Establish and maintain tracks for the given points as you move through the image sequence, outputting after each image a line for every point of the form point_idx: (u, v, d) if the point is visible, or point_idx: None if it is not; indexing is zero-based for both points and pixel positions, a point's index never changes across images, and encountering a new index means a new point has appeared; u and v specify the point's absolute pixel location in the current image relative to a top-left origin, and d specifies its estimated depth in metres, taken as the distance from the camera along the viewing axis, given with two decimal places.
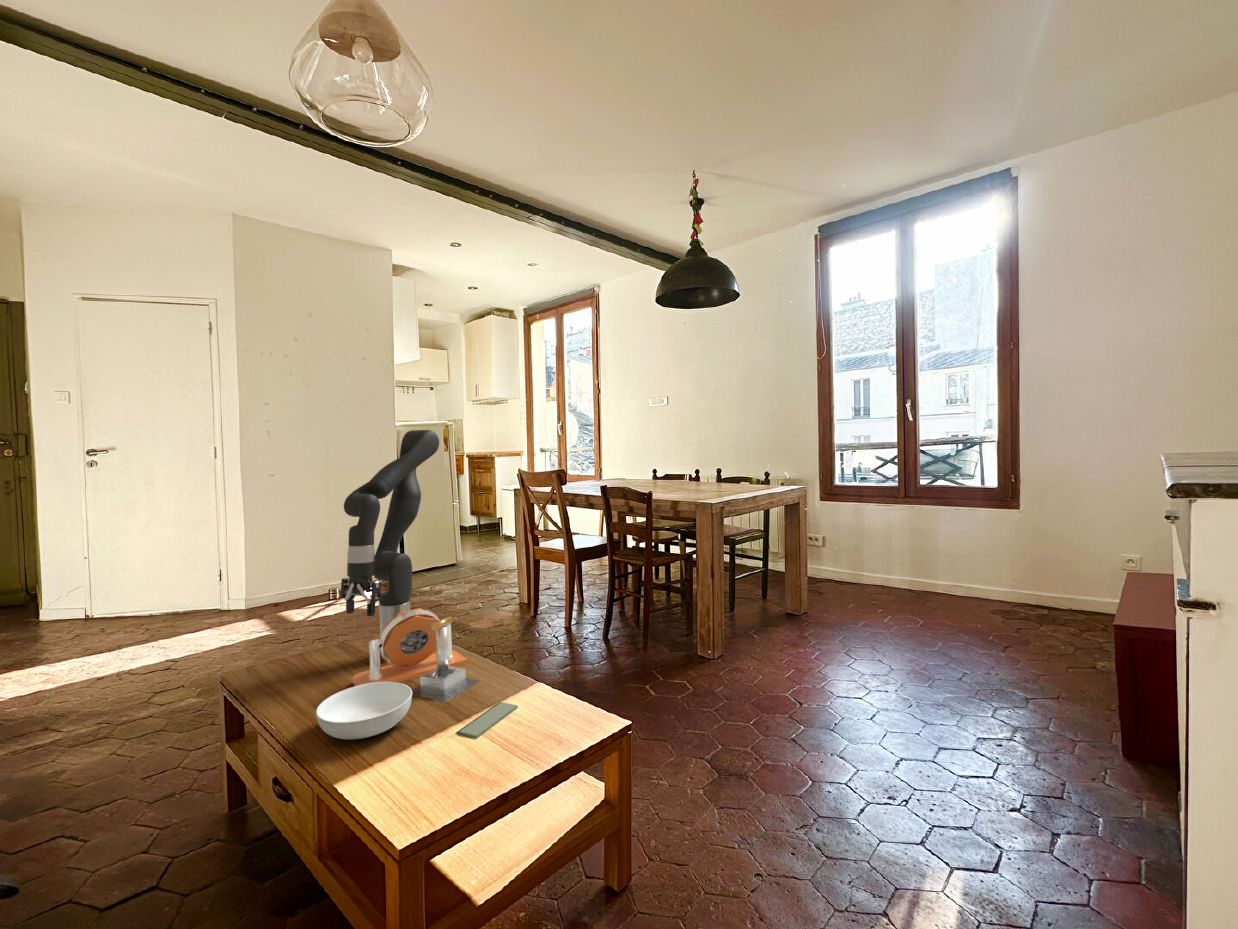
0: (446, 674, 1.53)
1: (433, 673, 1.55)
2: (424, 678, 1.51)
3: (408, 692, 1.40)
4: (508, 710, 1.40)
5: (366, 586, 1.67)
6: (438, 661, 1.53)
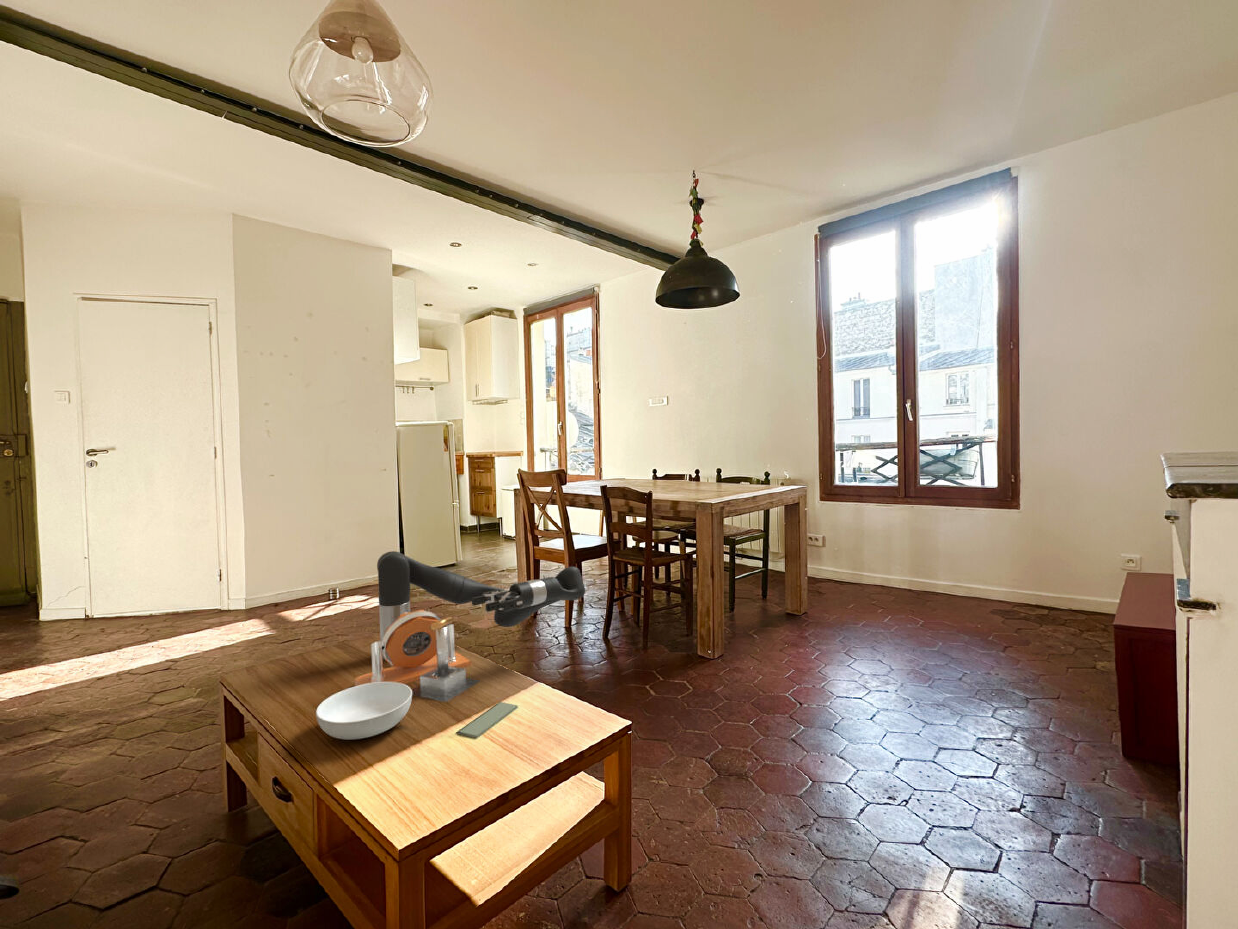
0: (446, 674, 1.53)
1: (433, 673, 1.55)
2: (424, 678, 1.51)
3: (408, 692, 1.40)
4: (508, 710, 1.40)
5: (512, 597, 1.64)
6: (438, 661, 1.53)
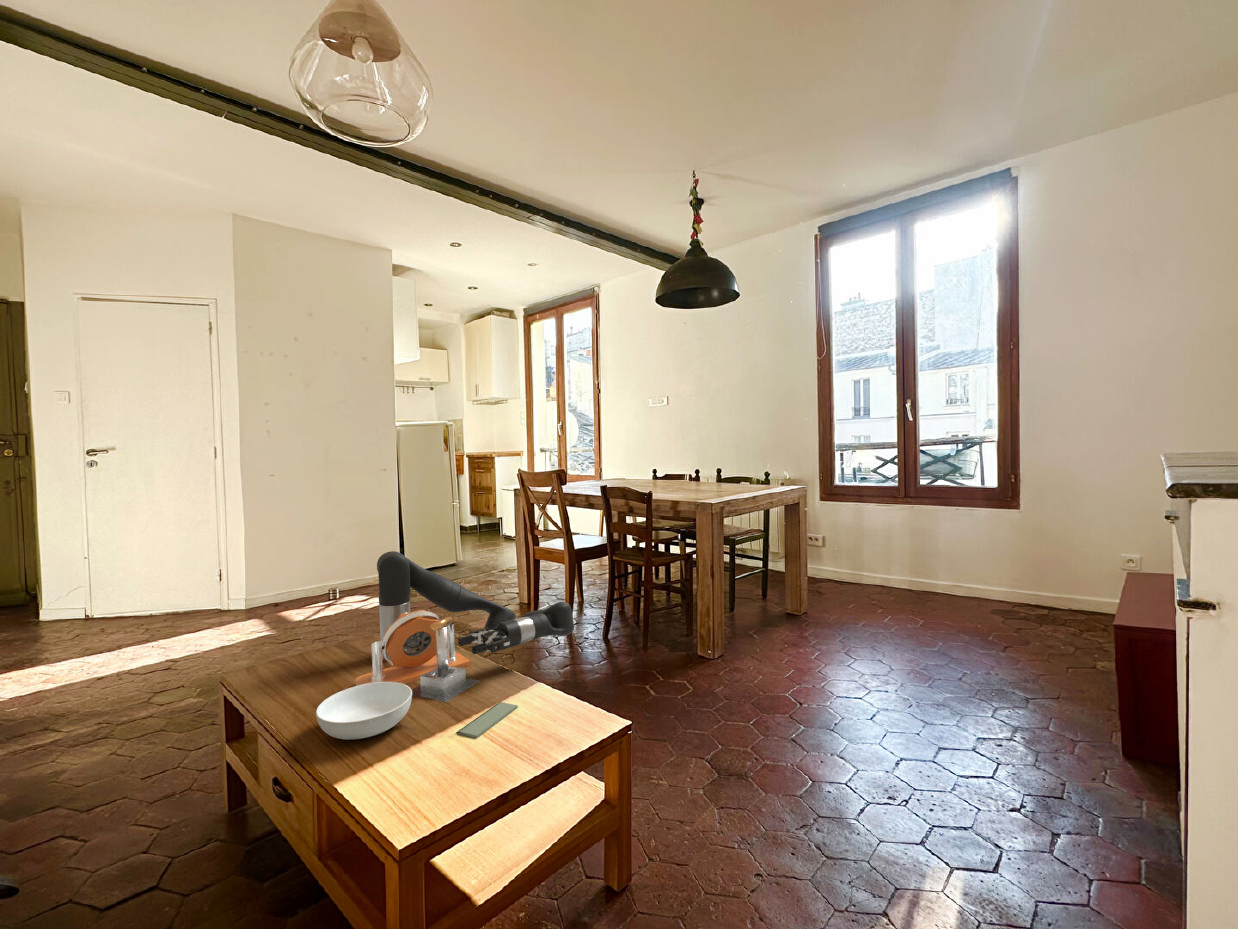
0: (446, 674, 1.53)
1: (433, 673, 1.55)
2: (424, 678, 1.51)
3: (408, 692, 1.40)
4: (508, 710, 1.40)
5: (499, 638, 1.60)
6: (438, 661, 1.53)
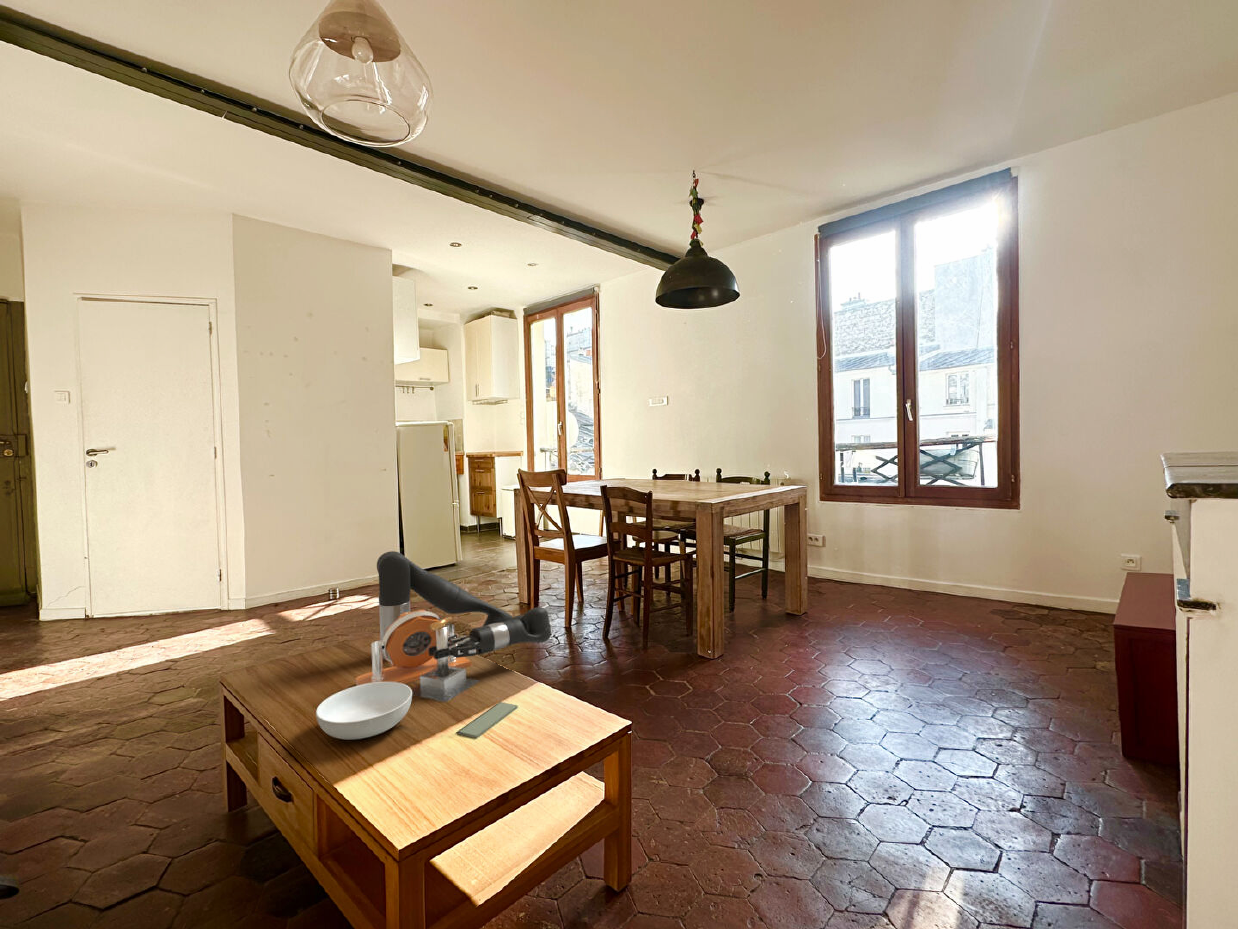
0: (446, 674, 1.53)
1: (433, 673, 1.55)
2: (424, 678, 1.51)
3: (408, 692, 1.40)
4: (508, 710, 1.40)
5: (467, 644, 1.55)
6: (438, 661, 1.53)
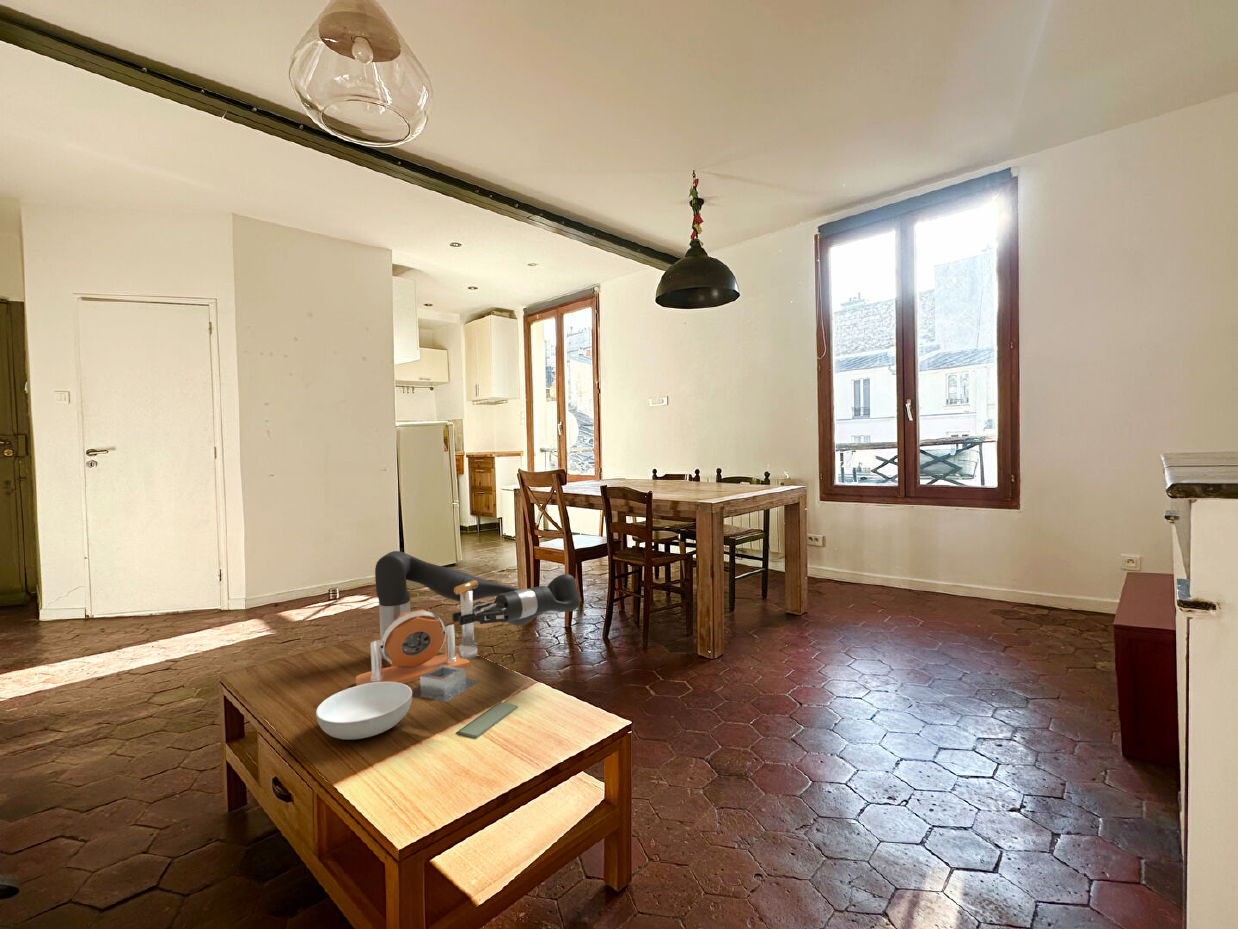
0: (471, 642, 1.41)
1: (433, 673, 1.55)
2: (424, 678, 1.51)
3: (408, 692, 1.40)
4: (508, 710, 1.40)
5: (493, 610, 1.44)
6: (463, 627, 1.41)
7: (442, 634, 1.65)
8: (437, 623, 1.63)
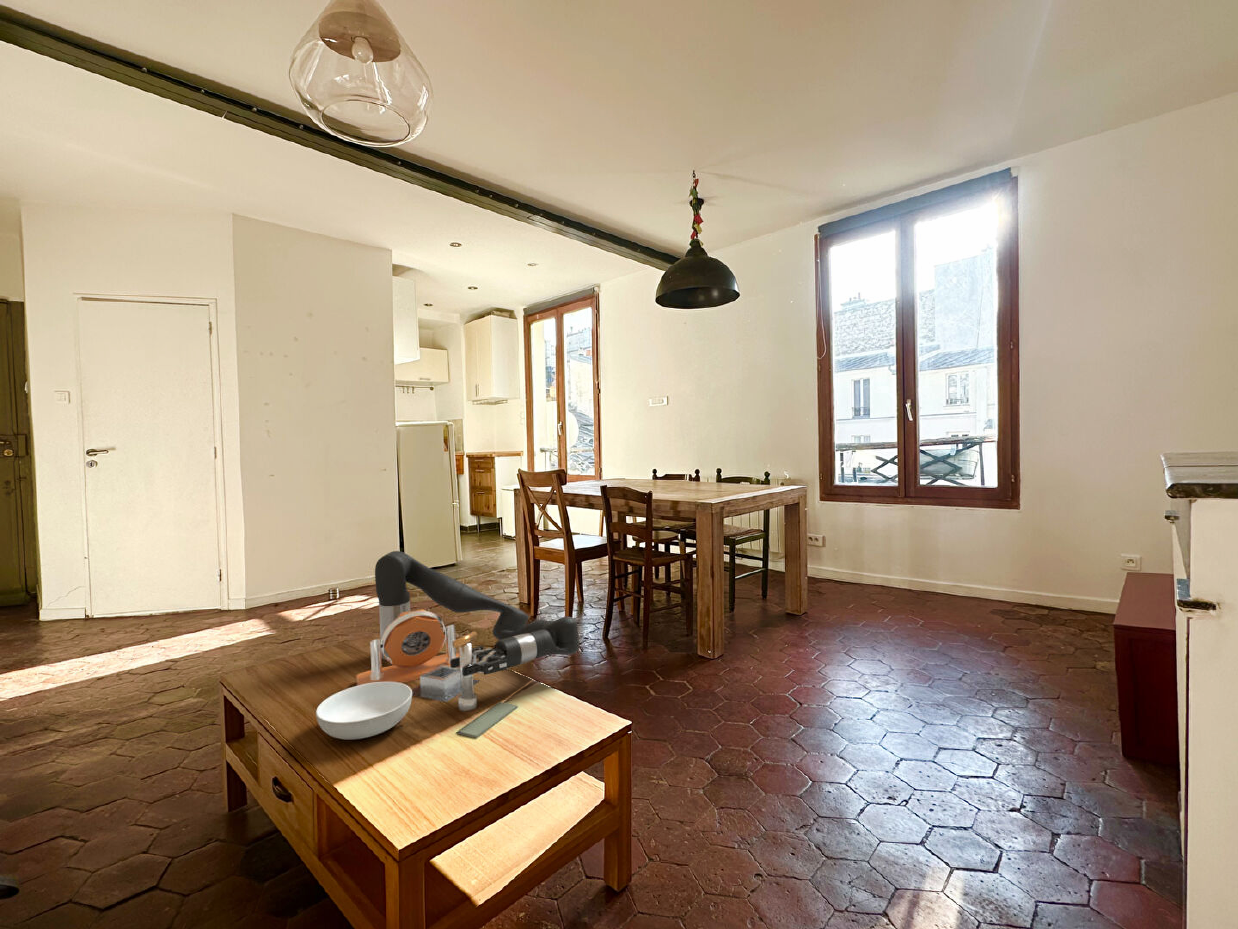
0: (470, 694, 1.41)
1: (433, 673, 1.55)
2: (424, 678, 1.51)
3: (408, 692, 1.40)
4: (508, 710, 1.40)
5: (495, 658, 1.43)
6: (462, 680, 1.40)
7: (442, 634, 1.65)
8: (437, 623, 1.63)
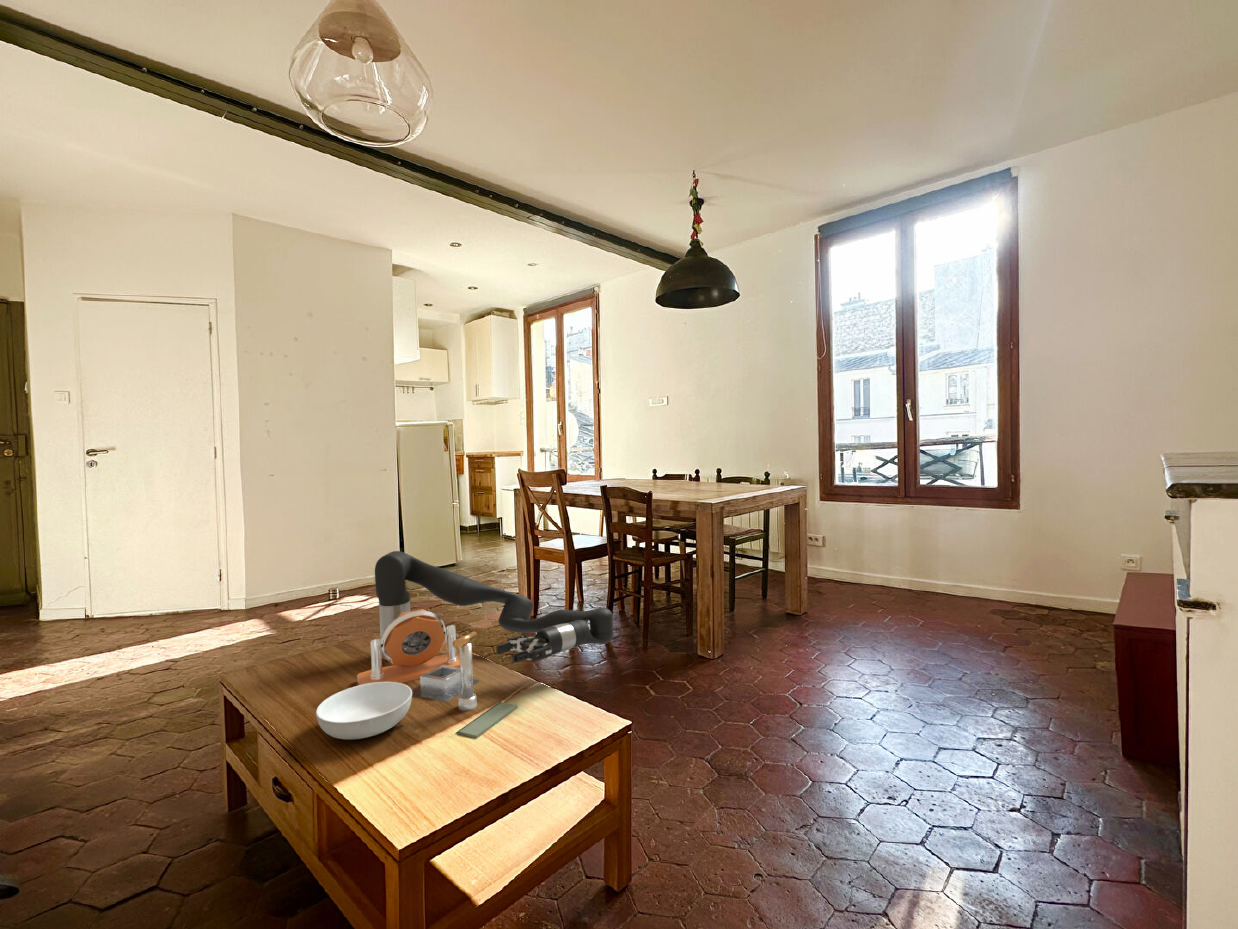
0: (470, 694, 1.41)
1: (433, 673, 1.55)
2: (424, 678, 1.51)
3: (408, 692, 1.40)
4: (508, 710, 1.40)
5: (540, 645, 1.52)
6: (462, 680, 1.40)
7: (442, 634, 1.65)
8: (437, 623, 1.63)
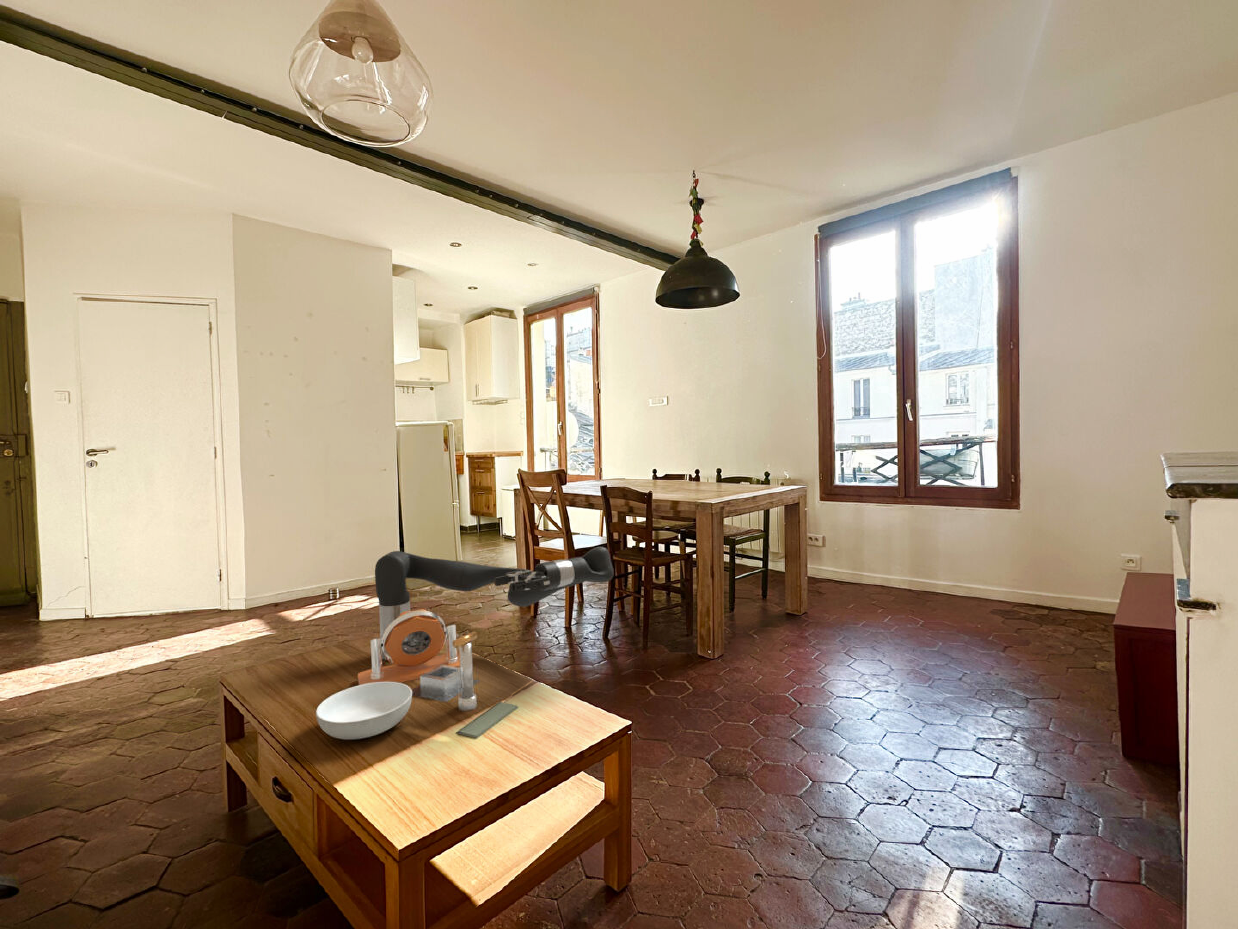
0: (470, 694, 1.41)
1: (433, 673, 1.55)
2: (424, 678, 1.51)
3: (408, 692, 1.40)
4: (508, 710, 1.40)
5: (538, 577, 1.51)
6: (462, 680, 1.41)
7: (442, 634, 1.65)
8: (437, 623, 1.63)
